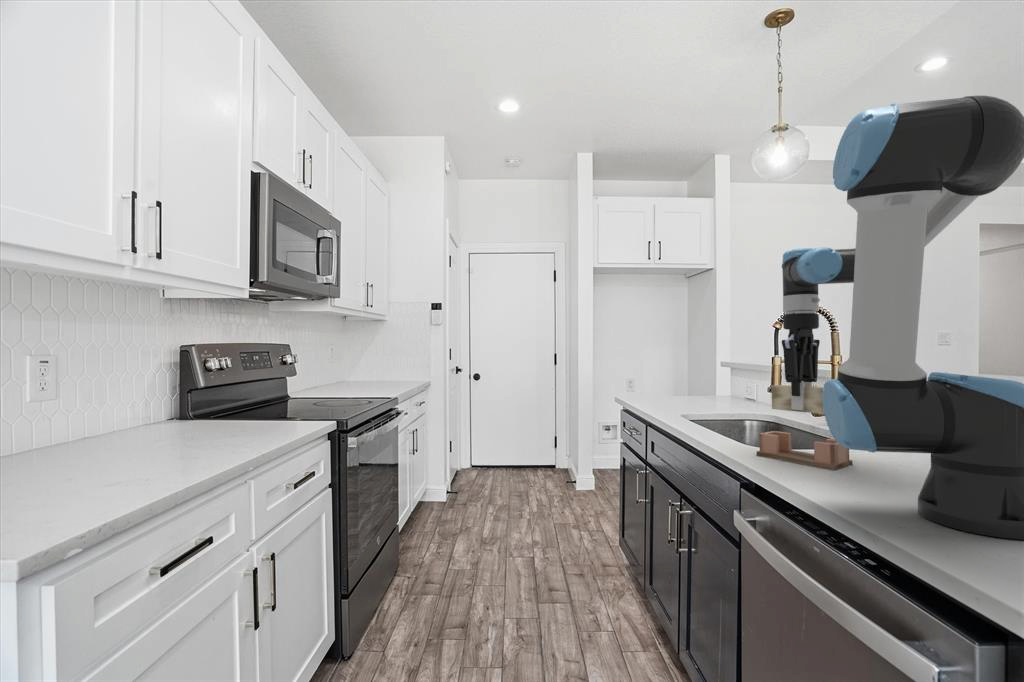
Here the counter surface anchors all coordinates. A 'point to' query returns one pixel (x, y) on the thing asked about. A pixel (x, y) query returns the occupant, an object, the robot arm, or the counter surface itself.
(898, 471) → the counter surface
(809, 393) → the birch slat
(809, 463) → the board
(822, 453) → the brown slotted stand
